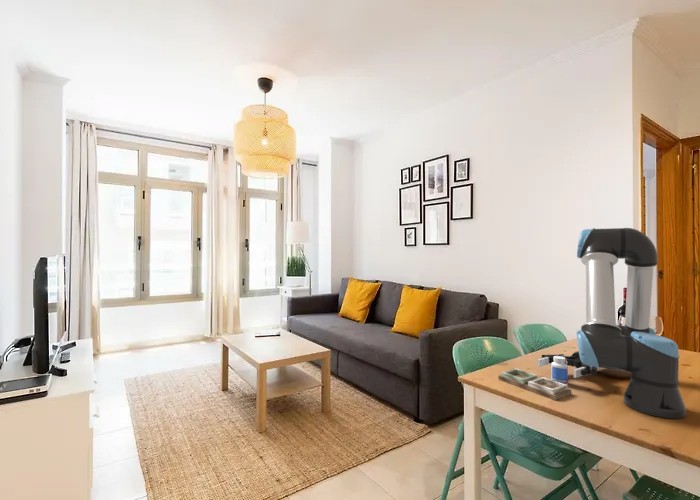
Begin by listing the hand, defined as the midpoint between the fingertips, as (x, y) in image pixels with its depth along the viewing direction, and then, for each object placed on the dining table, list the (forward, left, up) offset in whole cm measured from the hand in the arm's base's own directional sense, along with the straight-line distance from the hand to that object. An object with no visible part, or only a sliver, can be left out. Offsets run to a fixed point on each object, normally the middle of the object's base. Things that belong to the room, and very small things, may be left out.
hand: (555, 368), depth 134 cm
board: (+3, +10, -6) cm, 12 cm away
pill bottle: (0, -2, -6) cm, 7 cm away
